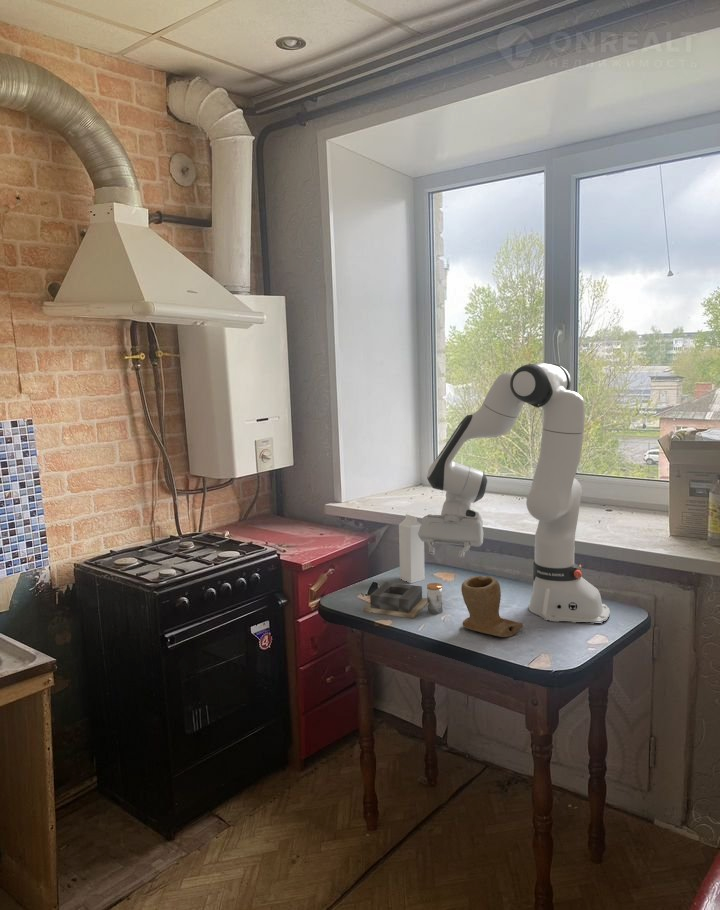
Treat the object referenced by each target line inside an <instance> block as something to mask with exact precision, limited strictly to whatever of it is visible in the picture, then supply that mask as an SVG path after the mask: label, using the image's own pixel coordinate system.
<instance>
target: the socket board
mask: <svg viewBox="0 0 720 910" xmlns="http://www.w3.org/2000/svg"><path fill="white" fill-rule="evenodd" d="M369 599H370V600H369V602H368V603H367V604H366V605H365V606H364V607H362V612H364V611H369V612H368V613H371V612H373V614H380V615H388V616H394V617H401V618H409V619H415V618H416V617H417V616H418V615H419V614H420V612H422V611H423V609H424V608H426V607H427V597H423V586H421V585H413V584H405V583H396V582H395V583H394V582H387V581H386V582H384V583H382V584H381V585H380V586H379V587H378V588H376V589H375V590H374V591H373V592H372V593H370V596H369Z"/></svg>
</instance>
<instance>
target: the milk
mask: <svg viewBox="0 0 720 910" xmlns="http://www.w3.org/2000/svg"><path fill="white" fill-rule="evenodd" d="M420 526H421V523H420V522H419V521H418V518H417V516H415V515H411V514H408V513H407V514H405V518H404V519H403V520H402V521H401V522H400V523H399V524H398V537H399V538H398V540H399V543H398V547H399V549H398V550H399V551H398V552H399V553H398V554H399V579H400V580H401V579H402V581H404V582H406V581H407V583H409V584H414V583H416V582H417V583H418V582H421V581H424V580H425V579H426V577H425V575H426V574H425V542H423V541H421V540H420V538H419V536H418V532H419V529H420Z"/></svg>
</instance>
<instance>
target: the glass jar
mask: <svg viewBox="0 0 720 910" xmlns="http://www.w3.org/2000/svg"><path fill="white" fill-rule="evenodd" d="M426 594H427V595H426V598H427V605H426V607H427V608H426V609H427V613H428V614H429V615H441V614H443V610H444V609H443V584H441V583H438V582H431V583H428V584H427V585H426Z"/></svg>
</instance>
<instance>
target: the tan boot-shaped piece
mask: <svg viewBox="0 0 720 910" xmlns="http://www.w3.org/2000/svg"><path fill="white" fill-rule="evenodd" d="M501 593H502V591H501V586H500V583H499V581H498V580H497V579H496V578H495V577H493V576H491V575H488V576H486V575H485V576H482V575H476V576H472V577H470V578H467V579H465V580H464V581H463V582H462V583H461V595H462V599H463V602H464V604H465V606H466V608H467V611H468V614H469V617H467V618H465V619H464V620H463V621H462V623H461V625H462V627H464V628H466V629H468V630H471V631H474V632H477V633H478V632H479V633H481V634H486V635H490V636H495V637H500V638H509V637H512V636H514V635H516V634H517V633H519V632H521V630H522V629H523V628H524V623H521V622H518V621H514V620H509V619H506V618H503V617H501V616H500V607H501V606H500V605H501V600H502V599H501V597H502V595H501Z"/></svg>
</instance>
